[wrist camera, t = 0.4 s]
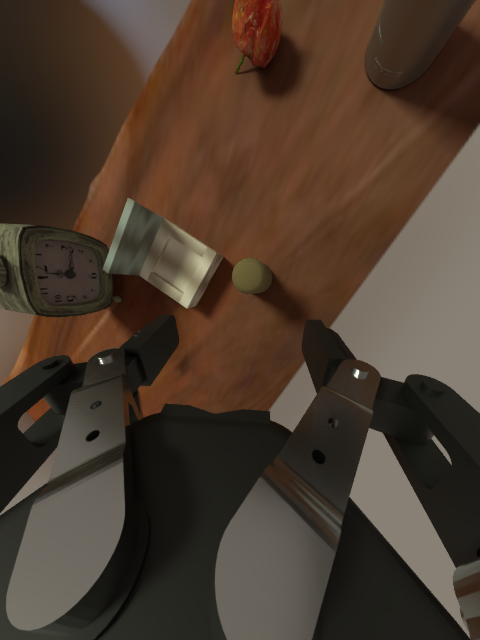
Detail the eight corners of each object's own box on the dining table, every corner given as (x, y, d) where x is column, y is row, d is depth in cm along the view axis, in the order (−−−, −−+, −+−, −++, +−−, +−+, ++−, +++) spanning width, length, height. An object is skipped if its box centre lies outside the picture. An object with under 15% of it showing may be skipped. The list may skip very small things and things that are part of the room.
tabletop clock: (127, 307, 43) (-61, 337, 19) (96, 303, 45) (-112, 325, 21) (124, 243, 40) (-103, 185, 16) (91, 241, 42) (-159, 185, 18)
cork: (270, 295, 36) (266, 300, 25) (240, 292, 37) (225, 295, 26) (274, 263, 34) (272, 254, 24) (243, 261, 36) (228, 251, 25)
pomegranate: (254, 106, 32) (304, 30, 24) (220, 79, 28) (268, -24, 20) (246, 62, 32) (294, -28, 24) (210, 29, 27) (255, -96, 20)
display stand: (171, 222, 37) (128, 197, 27) (223, 256, 36) (200, 245, 26) (148, 273, 40) (102, 269, 30) (196, 306, 40) (166, 314, 29)
